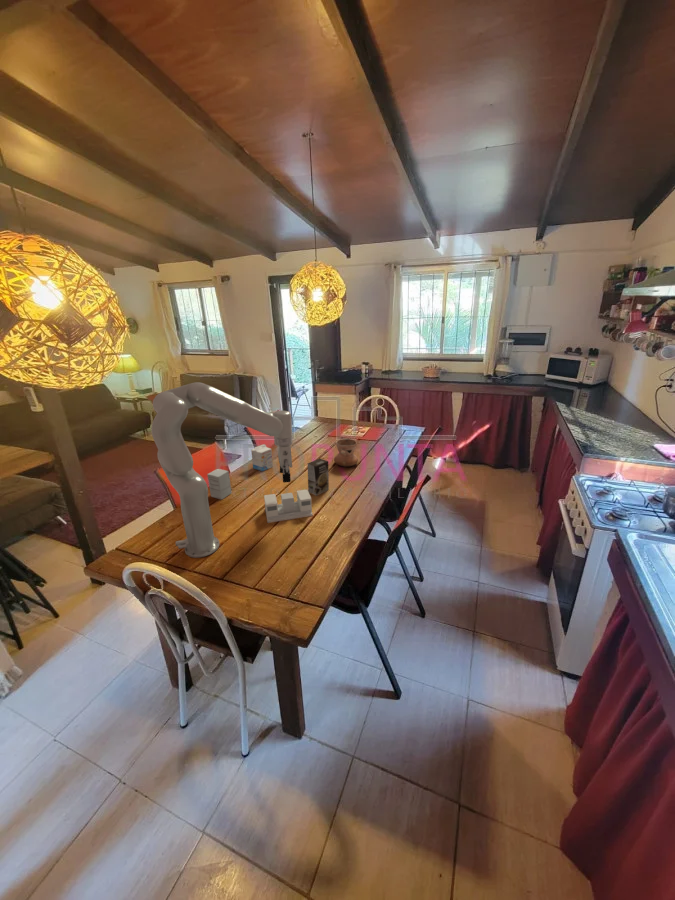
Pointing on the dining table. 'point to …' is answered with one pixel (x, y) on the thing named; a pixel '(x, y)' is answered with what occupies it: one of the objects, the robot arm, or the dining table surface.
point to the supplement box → (219, 483)
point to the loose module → (287, 502)
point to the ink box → (262, 458)
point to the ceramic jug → (346, 452)
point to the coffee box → (318, 476)
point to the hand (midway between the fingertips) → (285, 477)
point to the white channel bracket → (276, 513)
